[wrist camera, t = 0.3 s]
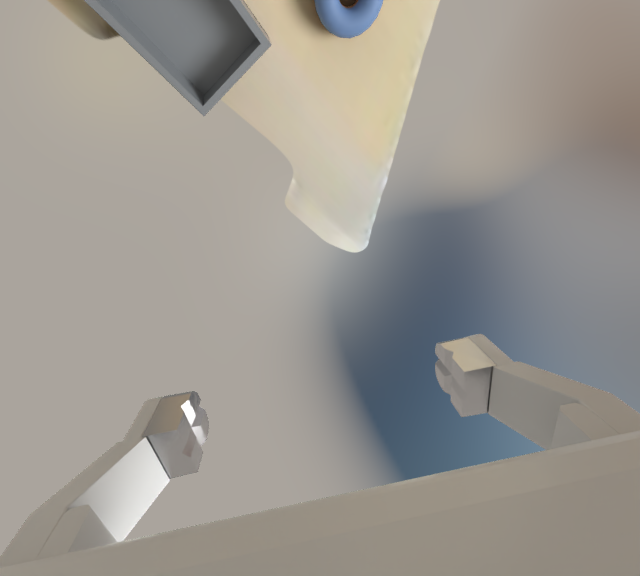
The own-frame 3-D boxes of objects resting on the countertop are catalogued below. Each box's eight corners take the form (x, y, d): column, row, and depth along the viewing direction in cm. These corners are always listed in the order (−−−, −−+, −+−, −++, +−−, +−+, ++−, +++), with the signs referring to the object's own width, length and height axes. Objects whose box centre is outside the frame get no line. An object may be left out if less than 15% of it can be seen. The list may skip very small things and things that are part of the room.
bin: (80, -22, 37) (67, -16, 34) (149, -136, 32) (141, -141, 29) (205, 103, 50) (204, 116, 46) (268, 36, 45) (271, 45, 41)
